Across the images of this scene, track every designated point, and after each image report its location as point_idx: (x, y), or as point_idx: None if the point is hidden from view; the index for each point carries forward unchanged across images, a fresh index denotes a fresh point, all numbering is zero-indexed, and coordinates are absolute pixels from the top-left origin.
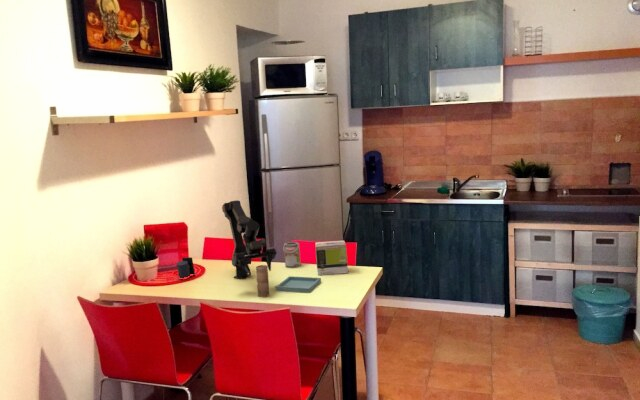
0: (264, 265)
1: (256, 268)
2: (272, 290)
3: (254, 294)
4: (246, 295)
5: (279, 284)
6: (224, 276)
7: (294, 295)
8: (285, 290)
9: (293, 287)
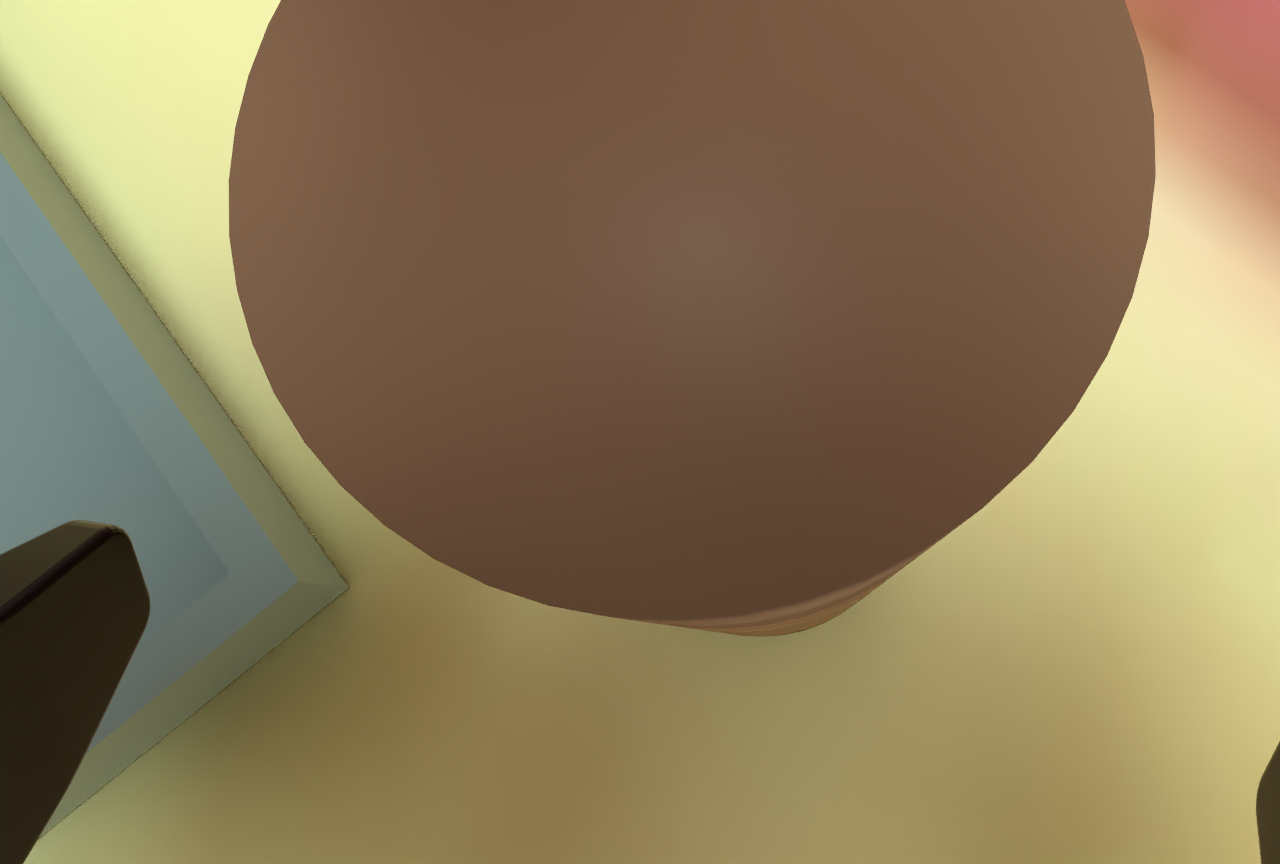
0: (326, 342)
1: (1141, 165)
2: (390, 698)
3: (932, 730)
4: (1165, 813)
5: (113, 696)
6: None
7: (213, 10)
8: (189, 376)
9: (10, 200)
